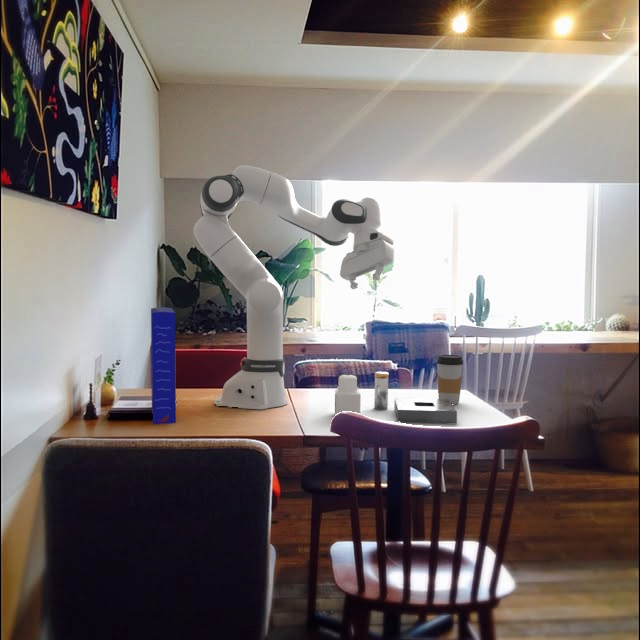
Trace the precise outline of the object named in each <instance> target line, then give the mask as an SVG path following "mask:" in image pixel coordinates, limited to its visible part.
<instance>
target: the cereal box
mask: <svg viewBox="0 0 640 640" xmlns="http://www.w3.org/2000/svg"><path fill="white" fill-rule="evenodd" d="M150 327H151V328H150V330H151V331H150V338H151V339H150V341H151V342H150V344H151V345H150V348H151V349H150V351H151V354H150V355H151V360H150V361H151V367H150V368H151V370H150V371H151V415H152V414H153V419H152V424H153V425H160V424H161V425H163V424H164V425H165V424H176V422H177V417H176V416H177V412H176V409H177V407H176V405H177V404H176V403H177V401H176V398H177V396H176V393H177V391H176V389H177V388H176V383H177V382H176V374H177V373H176V370H177V369H176V365H177V364H176V362H177V361H176V312H175V311H174V309H173V308H172V307H151V308H150Z"/></svg>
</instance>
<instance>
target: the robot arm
mask: <svg viewBox="0 0 640 640" xmlns="http://www.w3.org/2000/svg"><path fill="white" fill-rule="evenodd" d="M294 190H295V189H294V188H293V185H292V183H291V182H290V180H289V179H288V178H286V177H284V176H283V175H282V174H280V173H279V174H278V173H276V172H274V171H271V170H267V169H264V168H261V167H258V166H253V165H250V164H249V165H247V164H240V165H238V166H237V167H236V168H234V170H233V172H232V173H228V174H225V175H224V174H223V175H215V176H212V177H210V178H209V179H208V180H206V182H205V183H204V184H203V186H202V190H201V192H200V195H199V200H200V201H199V206H200V211H201V217H200V218H199V219H198V220H197V221H196V222H195V224H194V226H193V235H194V237H195V239H196V240H197V242H198V244H199V246H200V247H201V249H202V250H203V251H204V253H205V254H206V256H207V257H208V258H209V259H210V260H211V261H212V263H213V264H214V265H215V266H216V268H217V269H218V270H219V271H220V272H221V273H222V274H223V276H224V277H225V278H226V279H227V280H228V282H230V284H231V285H232V286H234V288H235V289H236V291H238V292H239V293H240V294H241V296H242V297H243V298H244V299H245V301H246V335H247V336H246V346H247V347H246V356H247V357H243V358H242V359H241V361H240V369H241V370H239V371H238V372H236V373H235V374H234V375H233V376H231V377H230V378H229V379H228V380H226V382H225V383H224V385H223V388H222V392H221V396H219V397H217V398H215V400H214V405H215V404H216V405H217V406H216V407H218V406H228V407H227V408H232V407H238V408H237V409H246V410H247V409H249V410H266V409H270V408H271V409H272V408H278V407H283V406H285V405H287V404H288V399H287V395H286V389H285V382H284V376H285V368H286V367H285V358H284V355H283V354H284V353H283V352H284V292H283V288H282V287H281V285H280V284H279V283H278V282H277V280H276V279H275V278H274V276H272V274H271V273H270V272H269V271H268V269H267V268H266V267H265V266H264V265H263V264H262V262H261V261H260V260H259V259H258V258H257V256H256V255H255V254H254V252H252V250H251V249H249V247H248V246H247V244H246V243H245V242H244V240H242V239H241V237H240V236H239V235H238V234H237V233H236V232H235V230H233V229H232V226H231V225H230V224H229V218H230V217H231V215H232V214H233V212H234V211H235V209H236V207H237V205H238V203H240V202H248V203H252V204H255V205H258V206H260V207H262V208H265V209H267V210H269V211H272V213H275V214H276V215H277V217H279V218H281V220H283V221H284V222H287V223H289V224H292V225H293V226H295V227H298V228H300V229H302V230H304V231H306V232H308V233H310V234H313V235H314V236H316V237H317V238H319V239H320V240H321V241H322V242H323V243H325V244H327V245H329V246H333V247H335V246H336V247H337V246H338V247H339V246H342V245H344V244H345V243H346V242H347V241H348V238H349V236H350V234H353V244H352V251H350V252H348V253H346V255H345V256H344V257H343V259H342V261H341V265H340V272H339V276H340V277H341V278H342V279H344V280H346V281H349V283H350V285H349V287H350V289H352V290H355V289H358V285H359V283H357V282H356V280H357V278H358V277H360V276H364V275H366V274H369V273H371V272H374V273H372V280H373V281H375V282H378V281H380V280H381V274H382V273H383V271H384V267H386V266H389V265H391V264H392V263H393V261H394V259H395V247H394V246H393V245H395V244H394V242H395V241H394V239H393V238H392V237H390V236H389V235H387V234H385V233H384V232H381V230H382V228H383V209H382V206H381V203H380V202H379V201H378V200H377V199H375V198H373V197H370V196H364V197H361V198H359V199H354V200H350V199H347V198H342V199H341V198H340V199H338V200H336V201H335V202H333V204H332V206H331V207H330V209H329V210H328V212H327V214H326V216H319V215H318V214H316V213H314V212H312V211H309V210H307V209H306V208H303V207H302V206H300V205H299V203H298V201H297V199H296V197H295V191H294Z"/></svg>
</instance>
